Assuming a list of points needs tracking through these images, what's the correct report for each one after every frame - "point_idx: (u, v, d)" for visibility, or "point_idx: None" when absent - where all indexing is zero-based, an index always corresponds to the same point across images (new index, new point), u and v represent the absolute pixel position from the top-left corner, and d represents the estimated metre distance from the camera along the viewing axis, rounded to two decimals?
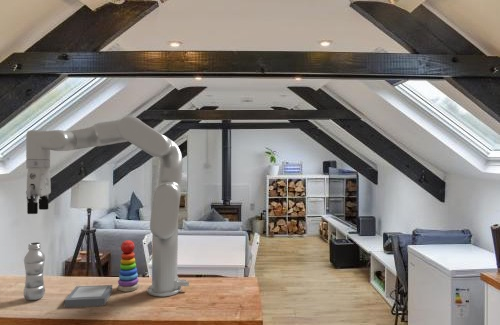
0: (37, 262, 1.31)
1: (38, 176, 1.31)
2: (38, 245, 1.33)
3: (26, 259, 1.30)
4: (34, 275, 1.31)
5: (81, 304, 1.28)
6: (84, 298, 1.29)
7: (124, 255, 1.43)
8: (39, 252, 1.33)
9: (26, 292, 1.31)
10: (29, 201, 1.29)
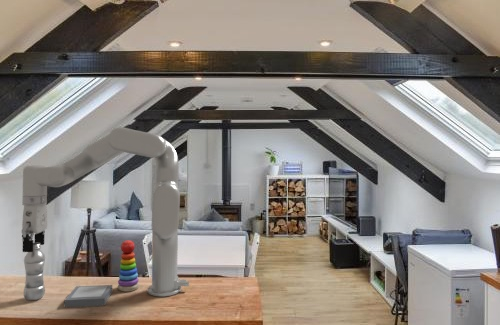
0: (37, 262, 1.31)
1: (34, 213, 1.28)
2: (38, 245, 1.33)
3: (26, 259, 1.30)
4: (34, 275, 1.31)
5: (81, 304, 1.28)
6: (84, 298, 1.29)
7: (124, 255, 1.43)
8: (39, 252, 1.33)
9: (26, 292, 1.31)
10: (24, 239, 1.26)
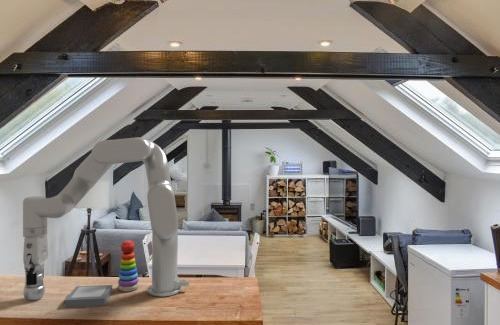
0: None
1: (35, 245, 1.29)
2: None
3: None
4: None
5: (81, 304, 1.28)
6: (84, 298, 1.29)
7: (124, 255, 1.43)
8: None
9: (26, 292, 1.31)
10: (28, 273, 1.29)
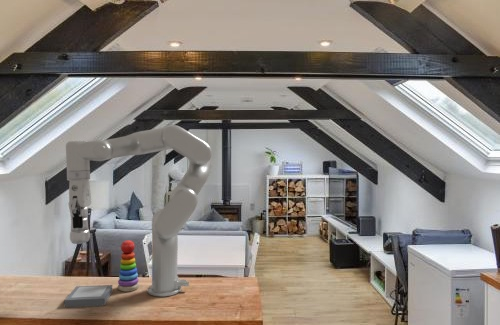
0: None
1: (80, 188, 1.29)
2: None
3: None
4: None
5: (81, 304, 1.28)
6: (84, 298, 1.29)
7: (124, 255, 1.43)
8: None
9: (73, 235, 1.31)
10: (74, 215, 1.29)
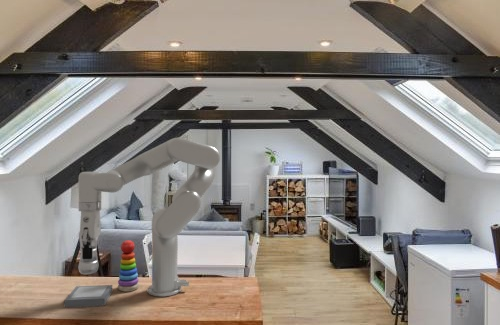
0: None
1: (91, 219, 1.29)
2: None
3: None
4: None
5: (81, 304, 1.28)
6: (84, 298, 1.29)
7: (124, 255, 1.43)
8: None
9: (82, 266, 1.31)
10: (85, 247, 1.29)
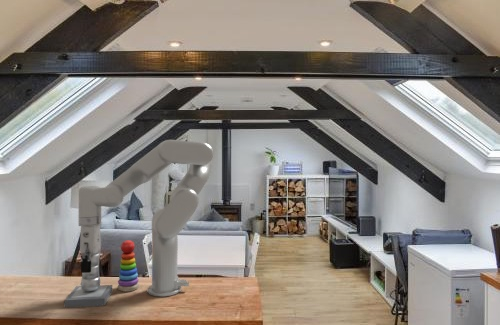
0: (94, 254, 1.33)
1: (91, 234, 1.29)
2: None
3: None
4: (91, 266, 1.33)
5: (81, 304, 1.28)
6: (84, 298, 1.29)
7: (124, 255, 1.43)
8: None
9: (84, 283, 1.33)
10: (83, 260, 1.28)
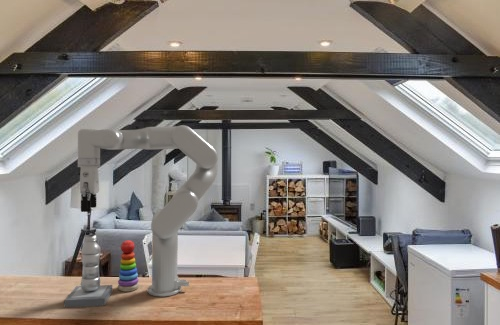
0: (94, 254, 1.33)
1: (91, 174, 1.32)
2: (94, 237, 1.35)
3: (84, 251, 1.32)
4: (91, 266, 1.33)
5: (81, 304, 1.28)
6: (84, 298, 1.29)
7: (124, 255, 1.43)
8: (95, 244, 1.35)
9: (84, 283, 1.33)
10: (83, 199, 1.31)
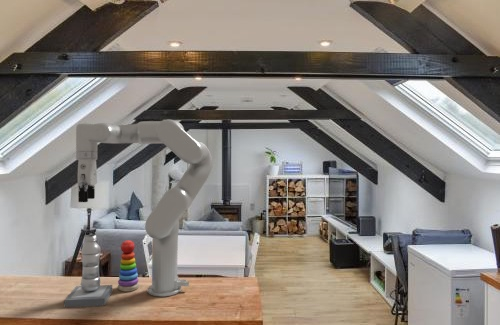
0: (94, 254, 1.33)
1: (88, 166, 1.39)
2: (94, 237, 1.35)
3: (84, 251, 1.32)
4: (91, 266, 1.33)
5: (81, 304, 1.28)
6: (84, 298, 1.29)
7: (124, 255, 1.43)
8: (95, 244, 1.35)
9: (84, 283, 1.33)
10: (80, 190, 1.37)
